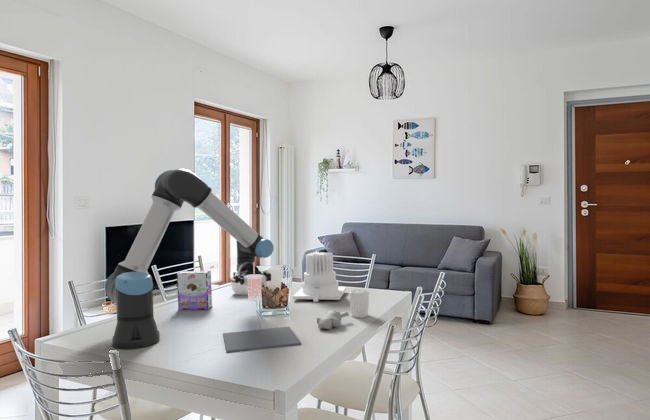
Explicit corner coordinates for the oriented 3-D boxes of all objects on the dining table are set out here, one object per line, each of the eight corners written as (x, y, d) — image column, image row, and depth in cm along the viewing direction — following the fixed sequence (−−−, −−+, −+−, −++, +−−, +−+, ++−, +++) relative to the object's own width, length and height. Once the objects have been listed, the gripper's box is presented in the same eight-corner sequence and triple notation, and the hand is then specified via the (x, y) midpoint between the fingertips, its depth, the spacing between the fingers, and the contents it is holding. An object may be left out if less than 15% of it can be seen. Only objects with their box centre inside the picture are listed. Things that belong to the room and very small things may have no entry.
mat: (301, 344, 155) (301, 342, 155) (226, 352, 149) (226, 350, 149) (289, 328, 174) (289, 326, 174) (223, 334, 168) (222, 333, 168)
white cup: (368, 312, 194) (367, 288, 194) (370, 317, 186) (370, 292, 186) (349, 313, 194) (348, 289, 193) (350, 318, 186) (350, 293, 185)
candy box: (212, 306, 211) (211, 270, 211) (208, 310, 206) (206, 272, 205) (183, 306, 213) (181, 270, 212) (177, 310, 207) (176, 272, 206)
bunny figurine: (310, 318, 172) (328, 305, 185) (312, 332, 173) (329, 317, 186) (334, 321, 168) (351, 307, 181) (335, 335, 168) (351, 319, 182)
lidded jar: (257, 292, 240) (256, 274, 240) (242, 296, 231) (242, 277, 231) (241, 290, 246) (240, 272, 245) (226, 294, 237) (226, 276, 236)
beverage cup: (265, 298, 177) (264, 261, 176) (258, 301, 171) (258, 263, 171) (250, 297, 178) (249, 260, 178) (243, 301, 173) (242, 263, 172)
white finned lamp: (339, 303, 212) (337, 256, 212) (292, 302, 216) (290, 256, 216) (346, 291, 237) (345, 249, 236) (304, 291, 241) (302, 249, 240)
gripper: (272, 279, 194) (282, 290, 172) (225, 282, 189) (229, 294, 167) (271, 261, 194) (281, 269, 172) (224, 264, 189) (228, 272, 167)
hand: (255, 281), depth 170 cm, fingers closed on beverage cup, 6 cm apart
